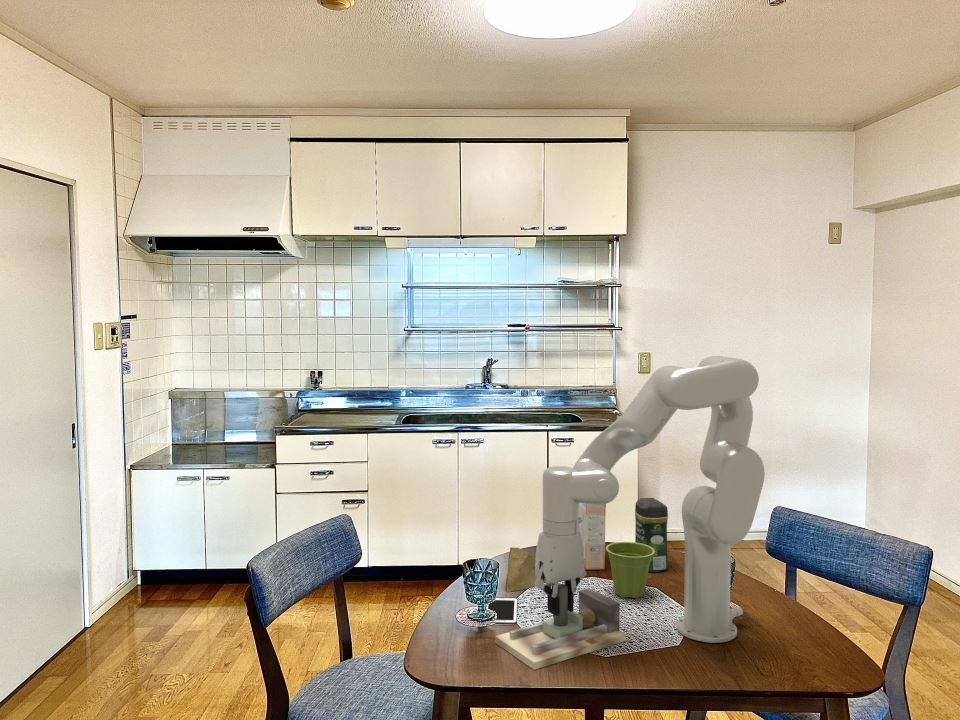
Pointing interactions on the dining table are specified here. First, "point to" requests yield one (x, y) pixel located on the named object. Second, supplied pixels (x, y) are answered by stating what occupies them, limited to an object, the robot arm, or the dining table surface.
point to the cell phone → (505, 610)
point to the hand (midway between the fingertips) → (560, 610)
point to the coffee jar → (652, 530)
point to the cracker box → (593, 535)
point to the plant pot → (629, 567)
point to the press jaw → (563, 617)
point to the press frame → (547, 650)
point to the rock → (520, 570)
